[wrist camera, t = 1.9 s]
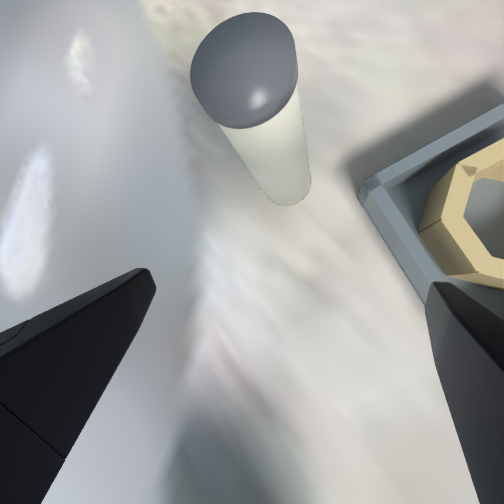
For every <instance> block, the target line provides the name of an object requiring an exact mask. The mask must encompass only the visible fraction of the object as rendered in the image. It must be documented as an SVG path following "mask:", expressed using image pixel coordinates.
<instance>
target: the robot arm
mask: <svg viewBox="0 0 504 504" xmlns="http://www.w3.org/2000/svg"><path fill="white" fill-rule="evenodd" d="M155 292H156V285H155V283H154V280H153V278H152V276H151V273H150V271H149V270H148V269H146V268H136V269H134V270H132V271H129V272H127V273H125V274H123V275H121V276H119V277H117V278H115V279H113V280H110V281H109V282H106V283H104V284H102V285H100V286H98V287H96V288H94V289H92V290H89V291H88V292H85V293H83V294H81V295H79V296H77V297H75V298H73V299H71V300H69V301H67V302H64V303H62V304H60V305H58V306H56V307H54V308H52V309H50V310H48V311H45V312H43V313H41V314H39V315H37V316H35V317H33V318H32V319H30V320H27V321H24V322H22V323H20V324H18V325H16V326H14V327H12V328H10V329H7V330H5V331H3V332H1V333H0V504H41V502H42V501H43V499H44V497H45V495H46V494H47V492H48V490H49V488H50V486H51V484H52V483H53V481H54V479H55V478H56V476H57V474H58V472H59V470H60V469H61V467H62V465H63V463H64V462H65V459H66V458H67V456H68V454H69V452H70V451H71V449H72V447H73V445H74V443H75V442H76V440H77V438H78V436H79V435H80V433H81V431H82V429H83V428H84V426H85V424H86V422H87V420H88V419H89V417H90V415H91V413H92V412H93V410H94V408H95V406H96V404H97V403H98V401H99V399H100V397H101V396H102V394H103V392H104V390H105V389H106V387H107V385H108V383H109V382H110V380H111V378H112V376H113V374H114V373H115V371H116V369H117V367H118V366H119V364H120V362H121V360H122V359H123V356H124V355H125V353H126V351H127V350H128V348H129V346H130V344H131V343H132V341H133V339H134V337H135V335H136V334H137V332H138V330H139V328H140V326H141V324H142V322H143V319H144V317H145V315H146V312H147V310H148V308H149V306H150V304H151V301H152V299H153V297H154V295H155ZM425 314H426V320H427V325H428V330H429V336H430V341H431V346H432V352H433V357H434V362H435V366H436V369H437V373H438V376H439V379H440V382H441V385H442V388H443V391H444V394H445V397H446V400H447V404H448V407H449V410H450V413H451V416H452V419H453V422H454V425H455V428H456V432H457V435H458V438H459V441H460V444H461V447H462V450H463V453H464V456H465V459H466V463H467V466H468V469H469V472H470V475H471V478H472V481H473V484H474V487H475V490H476V494H477V497H478V500H479V503H480V504H504V320H503V319H502V318H500V317H499V316H497V315H496V314H495V313H493V312H492V311H490V310H489V309H488V308H486V307H485V306H483V305H482V304H481V303H479V302H478V301H476V300H475V299H473V298H472V297H471V296H469V295H468V294H466V293H465V292H464V291H462V290H461V289H459V288H458V287H456V286H455V285H454V284H452V283H450V282H439V281H434V282H432V283H431V284H430V287H429V291H428V295H427V299H426V303H425Z"/></svg>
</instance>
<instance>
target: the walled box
mask: <svg viewBox="0 0 504 504" xmlns="http://www.w3.org/2000/svg"><path fill="white" fill-rule="evenodd" d="M357 198H358V200H359V201H360V203H361V205H362V206H363V208H364V209H365V211H366V213H367V214H368V216H369V217H370V219H371V221H372V222H373V224H374V225H375V227H376V229H377V230H378V232H379V233H380V235H381V237H382V238H383V240H384V241H385V243H386V245H387V246H388V248H389V249H390V251H391V253H392V254H393V256H394V257H395V259H396V260H397V262H398V264H399V265H400V267H401V268H402V270H403V272H404V273H405V275H406V276H407V278H408V280H409V281H410V283H411V284H412V286H413V288H414V289H415V291H416V292H417V294H418V296H419V297H420V299H421V300H422V302H423V304H424V305H425V303H426V299H427V295H428V291H429V287H430V284H431V283H432V282H434V281H439V282H450V283H452V284H454V285H455V286H456V287H458V288H459V289H461V290H462V291H464V292H465V293H466V294H468V295H469V296H471V297H472V298H473V299H475V300H476V301H478V302H479V303H481V304H482V305H483V306H485V307H486V308H488V309H489V310H490V311H492V312H493V313H495V314H496V315H497V316H499V317H500V318H502V319H503V320H504V103H503V104H501V105H499V106H497V107H495V108H494V109H492V110H490V111H488V112H486V113H485V114H483V115H481V116H479V117H477V118H476V119H474V120H472V121H470V122H468V123H466V124H465V125H463V126H461V127H459V128H457V129H456V130H454V131H452V132H450V133H448V134H447V135H445V136H443V137H441V138H439V139H438V140H436V141H434V142H432V143H430V144H429V145H427V146H425V147H423V148H421V149H420V150H418V151H416V152H414V153H412V154H411V155H409V156H407V157H405V158H403V159H401V160H400V161H398V162H396V163H394V164H392V165H391V166H389V167H387V168H385V169H383V170H382V171H380V172H378V173H376V174H374V175H373V176H371V177H369V178H367V179H365V180H364V181H363V182H362V185H361V188H360V191H359V194H358V197H357Z"/></svg>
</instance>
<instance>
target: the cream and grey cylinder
mask: <svg viewBox="0 0 504 504" xmlns="http://www.w3.org/2000/svg"><path fill="white" fill-rule="evenodd" d="M190 79H191V85H192V89H193V91H194V94H195V96H196V97H197V99H198V100H199V102H200V103H201V105H202V106H203V108H204V109H205V110H206V112H207V113H208V115H209V116H210V117H211V118H212V119H213V120H214V121H215V122H217V124H218V125H219V127H220V128H221V130H222V131H223V133H224V134H225V136H226V137H227V139H228V140H229V142H230V143H231V145H232V146H233V148H234V149H235V151H236V152H237V154H238V155H239V157H240V158H241V160H242V161H243V163H244V164H245V166H246V167H247V169H248V170H249V172H250V173H251V174H252V176H253V177H254V179H255V180H256V182H257V183H258V185H259V186H260V188H261V189H262V191H263V192H264V194H265V195H266V197H267V198H268V199H269V200H270V201H271V202H272V203H274V204H276V205H280V206H290V205H294V204H296V203H298V202H300V201H301V200H302V199H303V198H304V197H305V196H306V195H307V194H308V192H309V190H310V187H311V173H310V166H309V159H308V152H307V145H306V138H305V131H304V124H303V118H302V111H301V104H300V97H299V90H298V83H297V79H298V65H297V58H296V50H295V44H294V39H293V36H292V34H291V32H290V30H289V29H288V27H287V26H286V25H285V24H284V23H283V22H282V21H281V20H279V19H278V18H276V17H274V16H272V15H269V14H265V13H259V12H251V13H244V14H240V15H237V16H234V17H232V18H229V19H227V20H226V21H224V22H222V23H221V24H219V25H218V26H216V27H215V28H214V29H213V30H212V31H211V32H210V33H209V34H208V35H207V36H206V37H205V38H204V40H203V41H202V42H201V44H200V45H199V47H198V49H197V51H196V53H195V55H194V58H193V61H192V65H191V71H190Z"/></svg>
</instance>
